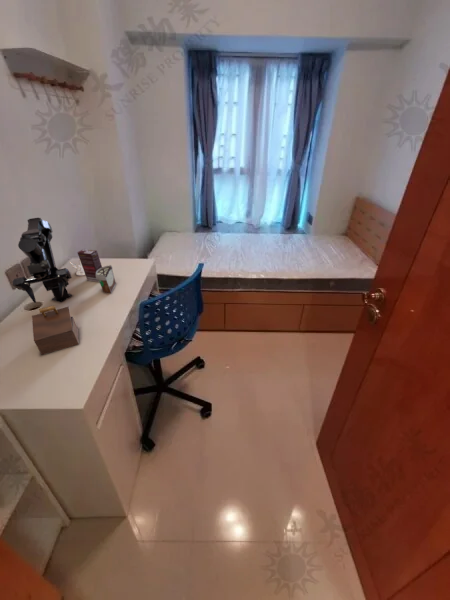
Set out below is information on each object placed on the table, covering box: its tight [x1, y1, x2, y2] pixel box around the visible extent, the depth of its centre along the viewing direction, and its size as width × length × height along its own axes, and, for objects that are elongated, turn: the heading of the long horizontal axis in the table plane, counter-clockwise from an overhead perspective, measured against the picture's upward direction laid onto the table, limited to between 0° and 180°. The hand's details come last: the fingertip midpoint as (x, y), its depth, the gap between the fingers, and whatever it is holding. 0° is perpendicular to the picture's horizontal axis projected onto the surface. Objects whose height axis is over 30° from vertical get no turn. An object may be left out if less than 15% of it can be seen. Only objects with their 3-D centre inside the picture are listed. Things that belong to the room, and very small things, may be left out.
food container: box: [96, 264, 117, 294], centre depth 136 cm, size 12×6×10 cm, turn 5°
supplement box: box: [76, 248, 103, 283], centre depth 144 cm, size 9×5×16 cm, turn 71°
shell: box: [69, 255, 86, 276], centre depth 153 cm, size 9×12×9 cm
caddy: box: [34, 315, 80, 356], centre depth 105 cm, size 10×12×6 cm
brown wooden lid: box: [31, 304, 73, 343], centre depth 101 cm, size 11×12×5 cm
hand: (48, 299), depth 107 cm, fingers open, 9 cm apart
